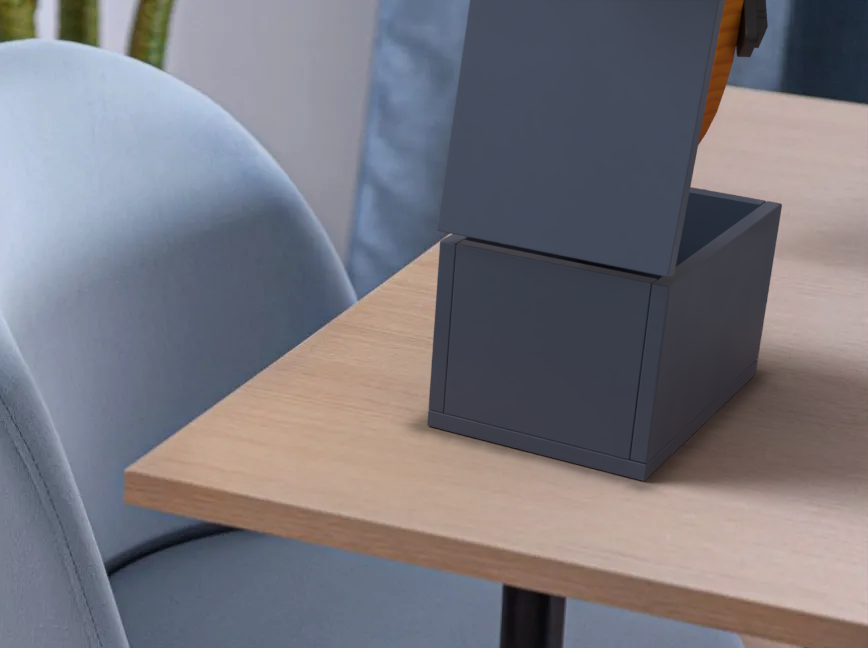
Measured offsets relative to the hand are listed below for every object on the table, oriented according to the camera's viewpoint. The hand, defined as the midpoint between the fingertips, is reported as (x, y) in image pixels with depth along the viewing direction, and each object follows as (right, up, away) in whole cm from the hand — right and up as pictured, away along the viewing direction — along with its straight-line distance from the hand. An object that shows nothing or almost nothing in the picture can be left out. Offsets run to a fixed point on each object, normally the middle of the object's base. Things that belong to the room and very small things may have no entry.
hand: (702, 46), depth 101 cm
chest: (-8, -21, -16) cm, 28 cm away
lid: (-11, -8, -29) cm, 31 cm away
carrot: (0, -6, +5) cm, 8 cm away
